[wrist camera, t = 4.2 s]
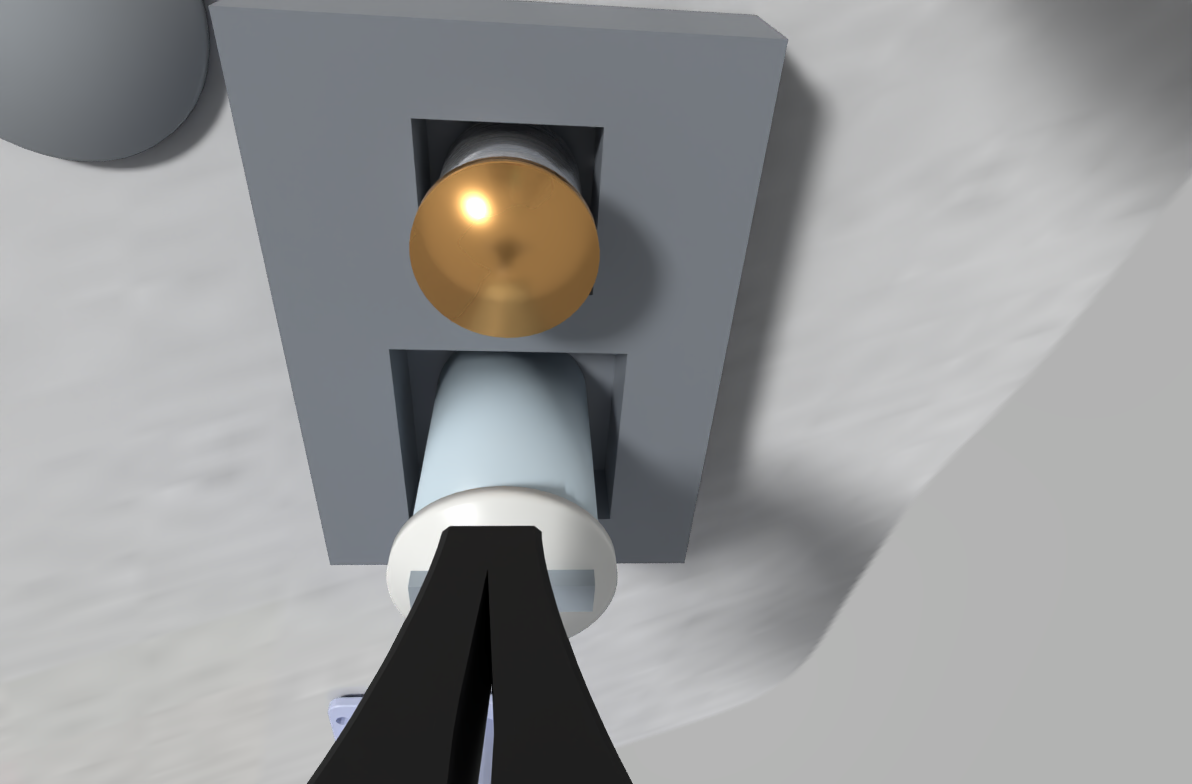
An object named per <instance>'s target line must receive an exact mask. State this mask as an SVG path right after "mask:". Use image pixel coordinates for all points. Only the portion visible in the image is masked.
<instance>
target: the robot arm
mask: <svg viewBox="0 0 1192 784" xmlns="http://www.w3.org/2000/svg"><path fill="white" fill-rule="evenodd" d="M491 686H492V694H490V693H491ZM328 715H329V719H330V723H331V726H332V730H333V734H334V737H335V743H334V744H333V746H332V748H331V749H330V751H329V752H328V754H327V755H326V757H325V758H324V760H323V761H322V763H321V764H320V765H319V767H318V768H317V770H316V771H315V773H314V774H313V776H312V777H311V779H310V780H309V781H308V783H307V784H633V783H632V781H631V779H630V777H629V776H628V774H627V772H626V770H625V768H624V766H623V764H622V762H621V760H620V758H619V756H618V754H617V752H616V750H615V748H614V746H613V744H612V742H611V740H610V737H609V735H608V733H607V731H606V729H605V727H604V725H603V722H602V720H601V718H600V716H599V714H598V711H597V709H596V707H595V704H594V702H593V700H592V698H591V695H590V693H589V691H588V688H587V686H586V684H585V681H584V679H583V676H582V674H581V671H580V669H579V666H578V664H577V661H576V658H575V656H574V653H573V650H572V647H571V645H570V642H569V639H568V636H567V634H566V631H565V628H564V625H563V623H562V620H561V616H560V613H559V610H558V607H557V604H556V600H555V597H554V593H553V590H552V586H551V583H550V579H549V574H548V570H547V566H546V561H545V556H544V549H543V542H542V531H540V530H539V529H538V528H537V527H535V526H449V527H448V528H446V529H445V530H444V531H442V534H441V537H440V540H439V544H438V547H437V549H436V552H435V555H434V557H433V560H432V563H431V565H430V568H429V570H428V572H427V575H426V577H425V579H424V582H423V584H422V586H421V588H420V591H419V593H418V595H417V597H416V599H415V601H414V604H413V606H412V608H411V610H410V612H409V614H408V616H407V618H406V620H405V621H404V623H403V625H402V627H401V629H400V631H399V633H398V635H397V637H396V639H395V641H394V643H393V645H392V647H391V649H390V651H389V653H388V654H387V656H386V658H385V660H384V662H383V663H382V665H381V667H380V669H379V670H378V672H377V674H376V675H375V677H374V679H373V681H372V682H371V684H370V686H369V687H368V689H367V691H366V692H365V694H364V696H363V697H341V698H336V699H334V700H332V701H331V702H330V705H329V709H328Z"/></svg>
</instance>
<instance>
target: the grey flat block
mask: <svg viewBox="0 0 1192 784" xmlns="http://www.w3.org/2000/svg"><path fill="white" fill-rule="evenodd" d="M208 7H209V11H210V16H211V21H212V25H213V30H214V34H215V39H216V43H217V48H218V53H219V57H220V62H221V66H222V71H223V75H224V80H225V85H226V89H227V94H228V98H229V103H230V107H231V112H232V117H233V121H234V126H235V130H236V135H237V139H238V144H239V149H240V153H241V158H242V162H243V167H244V172H245V176H246V181H247V185H248V190H249V194H250V199H251V204H252V208H253V213H254V217H255V222H256V226H257V231H258V236H259V240H260V245H261V249H262V254H263V258H264V263H265V268H266V272H267V277H268V281H269V286H270V290H271V295H272V300H273V304H274V309H275V313H276V318H277V323H278V327H279V332H280V336H281V341H282V345H283V350H284V355H285V359H286V364H287V368H288V373H289V377H290V382H291V387H292V391H293V396H294V400H295V405H296V409H297V414H298V419H299V423H300V428H301V432H302V437H303V441H304V446H305V451H306V455H307V460H308V464H309V469H310V474H311V478H312V483H313V487H314V492H315V496H316V501H317V506H318V510H319V515H320V519H321V524H322V528H323V533H324V538H325V542H326V547H327V551H328V556H329V560H330V565H388V561H389V556H390V552H391V548H392V545H393V542H394V539H395V537H396V536H397V534H398V532H399V530H400V529H401V528H402V526H403V525H404V524H405V523H406V522H407V521H408V519H410V518H411V517H412V516H413V513H414V508H415V503H416V498H417V492H418V487H419V482H420V476H421V471H422V466H423V460H424V455H425V450H426V445H427V439H428V434H429V429H430V423H431V418H432V413H433V408H434V402H435V397H436V392H437V386H438V381H439V377H440V374H441V371H442V369H443V367H444V365H445V363H446V362H447V361H448V359H449V358H450V357H451V356H452V355H453V354H454V353H455V352H456V351H509V352H560V353H568V354H569V355H570V356H571V357H572V358H573V359H574V360H575V362H576V363H577V364H578V366H579V368H580V369H581V371H582V373H583V376H584V379H585V384H586V391H587V402H588V414H589V425H590V437H591V448H592V459H593V471H594V482H595V494H596V505H597V517H598V521H599V523H600V524H601V525H602V526H603V527H604V528H605V530H606V532H607V533H608V535H609V537H610V539H611V541H612V544H613V546H614V551H615V556H616V563H684V562H685V557H686V552H687V547H688V542H689V536H690V531H691V526H692V521H693V516H694V511H695V506H696V501H697V496H698V491H699V486H700V481H701V476H702V471H703V466H704V461H705V456H706V451H707V446H708V441H709V436H710V431H711V426H712V421H713V416H714V411H715V406H716V400H717V395H718V390H719V385H720V380H721V375H722V370H723V365H724V360H725V355H726V350H727V345H728V340H729V335H730V330H731V325H732V320H733V315H734V310H735V305H736V300H737V295H738V290H739V285H740V280H741V275H742V269H743V264H744V259H745V254H746V249H747V244H748V239H749V234H750V229H751V224H752V219H753V214H754V209H755V204H756V199H757V194H758V189H759V184H760V179H761V174H762V169H763V164H764V159H765V154H766V149H767V144H768V139H769V133H770V128H771V123H772V118H773V113H774V108H775V103H776V98H777V93H778V88H779V83H780V78H781V73H782V68H783V63H784V58H785V53H786V48H787V43H788V39H787V38H786V37H785V36H783V35H782V34H781V33H779V32H778V31H777V30H775V29H774V28H773V27H772V26H770V25H769V24H768V23H766V22H765V21H764V20H762V19H761V18H760V17H758V16H757V15H747V14H730V13H714V12H697V11H681V10H664V9H648V8H631V7H615V6H598V5H582V4H565V3H549V2H532V1H516V0H219V1H217V2H215V3H213V4H211V5H208ZM477 121H480V122H501V123H523V124H545V125H547V126H548V127H550V128H551V129H552V130H554V131H555V132H556V133H557V134H558V135H559V136H560V137H561V138H562V139H563V140H564V141H565V143H566V144H567V145H568V147H569V148H570V150H571V152H572V154H573V156H574V158H575V160H576V163H577V167H578V170H579V177H580V185H581V193H582V197H583V199H584V200H585V202H586V203H587V205H588V207H589V209H590V211H591V213H592V215H593V218H594V221H595V225H596V228H597V234H598V241H599V248H600V262H599V268H598V273H597V277H596V280H595V283H594V285H593V287H592V290H591V292H590V293H589V295H588V297H587V298H586V300H585V301H584V303H583V304H582V305H581V306H580V307H579V309H578V310H577V311H576V312H574V313H573V314H572V315H571V316H570V317H569V318H567V319H566V320H565V321H563V322H562V323H560V324H559V325H557V326H555V327H553V328H551V329H549V330H546V331H544V332H541V333H538V334H534V335H531V336H525V337H518V338H501V337H492V336H487V335H482V334H479V333H475V332H472V331H470V330H468V329H465V328H463V327H461V326H459V325H457V324H456V323H454V322H452V321H450V320H449V319H448V318H446V317H445V316H444V315H442V314H441V313H440V312H439V311H438V310H437V309H436V308H435V307H434V306H433V305H432V304H431V303H430V302H429V300H428V299H427V298H426V297H425V295H424V294H423V292H422V290H421V289H420V287H419V285H418V283H417V281H416V279H415V276H414V273H413V270H412V267H411V261H410V255H409V241H410V233H411V229H412V225H413V222H414V219H415V216H416V213H417V210H418V208H419V206H420V204H421V201H422V200H423V198H424V197H425V195H426V193H427V192H428V190H429V189H430V188H431V187H432V186H433V185H434V184H435V183H436V182H437V181H438V180H439V177H440V174H441V171H442V167H443V164H444V161H445V157H446V155H447V152H448V150H449V148H450V146H451V145H452V143H453V142H454V140H455V139H456V138H457V137H458V136H459V134H460V133H461V132H463V131H464V130H465V129H466V128H467V127H469V126H470V125H472V124H473V123H475V122H477Z"/></svg>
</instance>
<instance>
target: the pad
mask: <svg viewBox="0 0 1192 784" xmlns="http://www.w3.org/2000/svg"><path fill="white" fill-rule="evenodd" d="M208 61H209V30H208V24H207V18H206V12H205V7H204V4H203V0H0V138H1V139H3V140H6V141H8V142H10V143H13V144H15V145H17V146H20V147H22V148H25V149H28V150H31V151H34V152H37V153H40V154H43V155H47V156H52V157H56V158H61V159H66V160H75V161H86V162H88V161H109V160H115V159H122V158H126V157H129V156H132V155H135V154H138V153H141V152H143V151H145V150H147V149H149V148H151V147H153V146H155V145H156V144H158V143H159V142H160V141H162V140H163V139H164V138H166V137H167V136H168V135H170V134H171V133H172V132H174V131H175V130H176V129H177V128H178V127H179V126H180V125H181V124H182V123H183V122H184V121H185V120H186V119H187V117H188V116H189V114H190V113H191V111H192V110H193V108H194V107H195V105H196V103H197V101H198V99H199V96H200V94H201V92H202V90H203V86H204V82H205V79H206V75H207V70H208Z"/></svg>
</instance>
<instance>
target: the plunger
mask: <svg viewBox="0 0 1192 784" xmlns="http://www.w3.org/2000/svg"><path fill="white" fill-rule="evenodd" d="M409 255H410V261H411V267H412V270H413V273H414V276H415V279H416V281H417V283H418V285H419V287H420V289H421V290H422V292H423V294H424V295H425V297H426V298H427V299H428V300H429V302H430V303H431V304H432V305H433V306H434V307H435V308H436V309H437V310H438V311H439V312H440V313H441V314H442V315H444V316H445V317H446V318H448V319H449V320H450V321H452V322H454V323H456V324H457V325H459V326H461V327H463V328H465V329H468V330H470V331H472V332H475V333H479V334H482V335H487V336H492V337H501V338H518V337H525V336H531V335H534V334H538V333H541V332H544V331H546V330H549V329H551V328H553V327H555V326H557V325H559V324H560V323H562V322H563V321H565V320H566V319H567V318H569V317H570V316H571V315H572V314H573V313H574V312H576V311H577V310H578V309H579V307H580V306H581V305H582V304H583V303H584V301H585V300H586V298H587V297H588V295H589V293H590V292H591V290H592V287H593V285H594V283H595V280H596V277H597V273H598V268H599V262H600V248H599V241H598V234H597V228H596V225H595V221H594V218H593V215H592V213H591V211H590V209H589V207H588V205H587V203H586V202H585V200H584V199H583V197H582V193H581V185H580V177H579V170H578V167H577V163H576V160H575V158H574V156H573V154H572V152H571V150H570V148H569V147H568V145H567V144H566V143H565V141H564V140H563V139H562V138H561V137H560V136H559V135H558V134H557V133H556V132H555V131H554V130H552V129H551V128H550V127H548V126H547V125H545V124H523V123H501V122H480V121H477V122H475V123H473V124H472V125H470V126H469V127H467V128H466V129H465V130H464V131H463V132H461V133H460V134H459V136H458V137H457V138H456V139H455V140H454V142H453V143H452V145H451V146H450V148H449V150H448V152H447V155H446V157H445V161H444V164H443V167H442V171H441V174H440V177H439V180H438V181H437V182H436V183H435V184H434V185H433V186H432V187H431V188H430V189H429V190H428V192H427V193H426V195H425V197H424V198H423V200H422V201H421V204H420V206H419V208H418V210H417V213H416V216H415V219H414V222H413V225H412V229H411V233H410V241H409Z"/></svg>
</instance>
